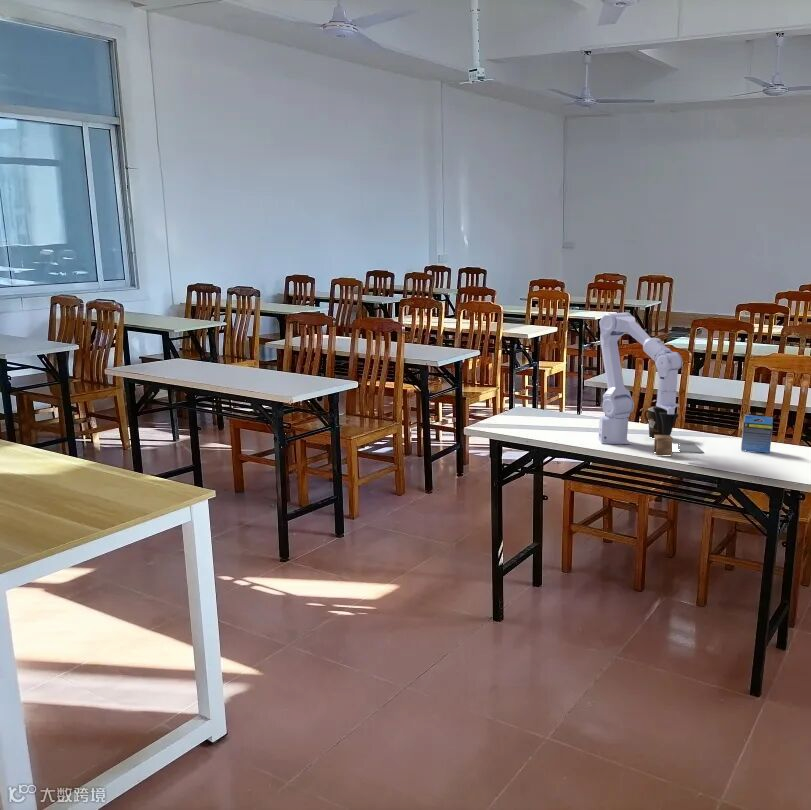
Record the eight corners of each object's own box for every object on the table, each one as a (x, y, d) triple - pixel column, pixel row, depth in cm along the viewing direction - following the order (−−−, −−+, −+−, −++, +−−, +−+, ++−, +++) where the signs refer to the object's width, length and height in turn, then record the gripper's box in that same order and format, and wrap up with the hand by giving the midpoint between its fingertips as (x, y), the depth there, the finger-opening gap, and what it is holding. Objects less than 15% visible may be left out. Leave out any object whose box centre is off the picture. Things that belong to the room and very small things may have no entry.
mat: (666, 452, 271) (666, 451, 271) (658, 443, 283) (658, 442, 283) (703, 453, 271) (703, 452, 271) (694, 444, 282) (694, 443, 282)
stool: (655, 456, 267) (657, 437, 265) (652, 452, 271) (654, 434, 270) (671, 456, 266) (673, 438, 265) (668, 453, 271) (669, 435, 269)
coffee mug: (674, 440, 287) (676, 412, 285) (649, 440, 287) (651, 412, 285) (665, 433, 298) (667, 406, 296) (641, 432, 299) (642, 405, 297)
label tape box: (769, 451, 274) (773, 414, 272) (769, 454, 271) (773, 417, 268) (740, 448, 278) (744, 412, 275) (740, 451, 274) (744, 414, 272)
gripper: (685, 394, 257) (682, 437, 260) (674, 386, 271) (671, 427, 274) (662, 394, 258) (659, 436, 260) (652, 386, 272) (649, 426, 274)
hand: (664, 431), depth 267 cm, fingers open, 7 cm apart
